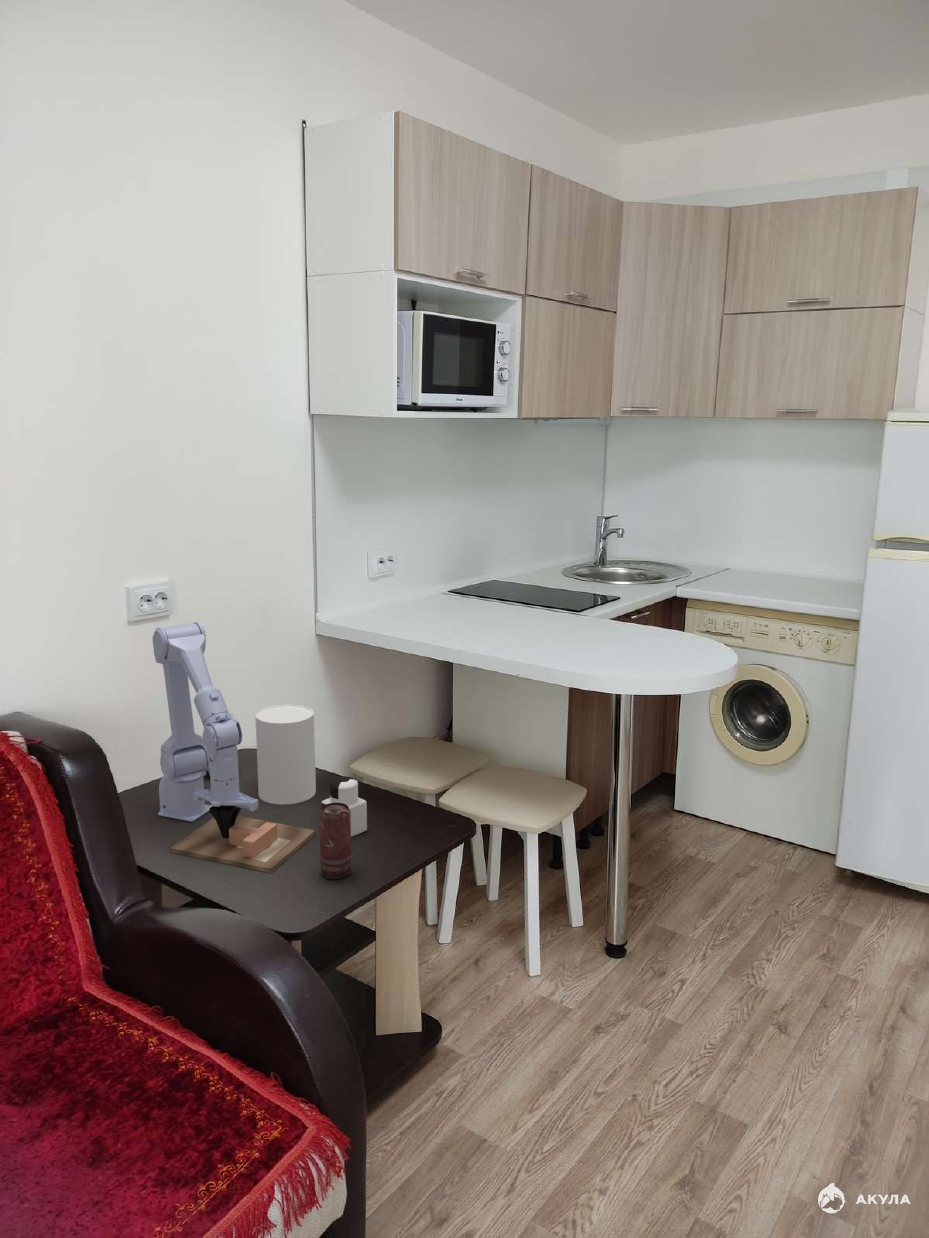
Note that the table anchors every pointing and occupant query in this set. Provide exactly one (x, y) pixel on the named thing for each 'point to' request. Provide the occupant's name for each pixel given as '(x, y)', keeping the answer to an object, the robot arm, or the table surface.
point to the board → (219, 849)
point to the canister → (285, 754)
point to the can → (335, 840)
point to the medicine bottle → (349, 802)
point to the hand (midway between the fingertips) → (227, 836)
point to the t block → (253, 838)
